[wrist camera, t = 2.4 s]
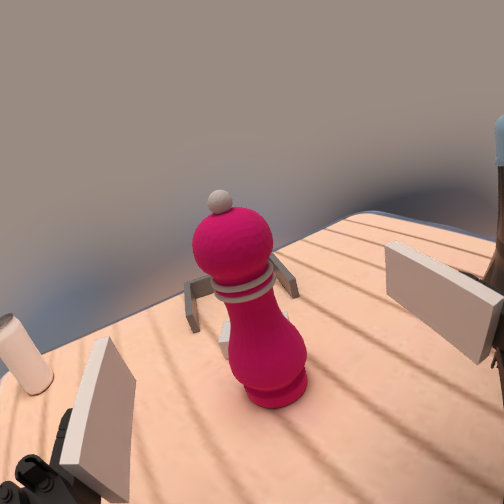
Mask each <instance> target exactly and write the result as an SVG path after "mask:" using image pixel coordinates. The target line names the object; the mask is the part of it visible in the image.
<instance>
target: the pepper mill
mask: <svg viewBox="0 0 504 504" xmlns="http://www.w3.org/2000/svg"><path fill="white" fill-rule="evenodd" d="M208 207H209V209H210V210H211V211H212V212H213V214H211V215H209V216H208V217H206V218H205V219H204V220H203V221H202V222H201V223H200V224H199V225H198V227H197V228H196V230H195V233H194V236H193V243H192V247H193V254H194V258H195V260H196V262H197V264H198V266H199V267H200V268H201V269H202V270H203V271H204V272H205V273H207V274H208V275H210V276H212V278H211V285H212V287H213V288H214V294H215V296H216V297H217V298H218V299H219V300H220V301H223V302H224V303H225V305H226V307H227V311H228V314H229V317H230V337H229V345H228V359H229V364H230V367H231V370H232V373H233V375H234V376H235V378H236V379H237V380H238V381H239V382H240V383H242V384H244V387H245V389H246V392H247V394H248V396H249V398H250V399H251V400H252V401H253V402H254V403H255V404H257V405H259V406H262V407H265V408H278V407H284V406H286V405H288V404H290V403H293V402H294V401H295V400H297V399H298V398H299V397H300V396H301V395H302V394H303V392H304V390H305V389H306V386H307V375H306V371H305V367H304V365H305V362H306V358H307V351H306V347H305V344H304V341H303V338H302V336H301V335H300V333H299V332H298V330H297V329H296V327H295V326H294V325H293V324H292V323H291V322H289V321H288V320H287V318H286V317H285V316H284V315H283V314H282V312H281V310H280V309H279V307H278V304H277V301H276V298H275V296H274V291H273V285H274V284H275V281H276V275H275V273H274V272H273V264H272V263H271V261H269V260H268V258H269V256H270V254H271V252H272V249H273V238H272V233H271V231H270V228H269V226H268V224H267V222H266V221H265V220H264V218H263V217H262V216H260V215H259V214H258V213H257V212H255V211H253V210H250V209H247V208H242V207H232V198H231V196H230V194H229V193H227V192H226V191H224V190H216V191H214V192H212V193H211V194H210V196H209V198H208ZM231 207H232V208H231Z"/></svg>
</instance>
